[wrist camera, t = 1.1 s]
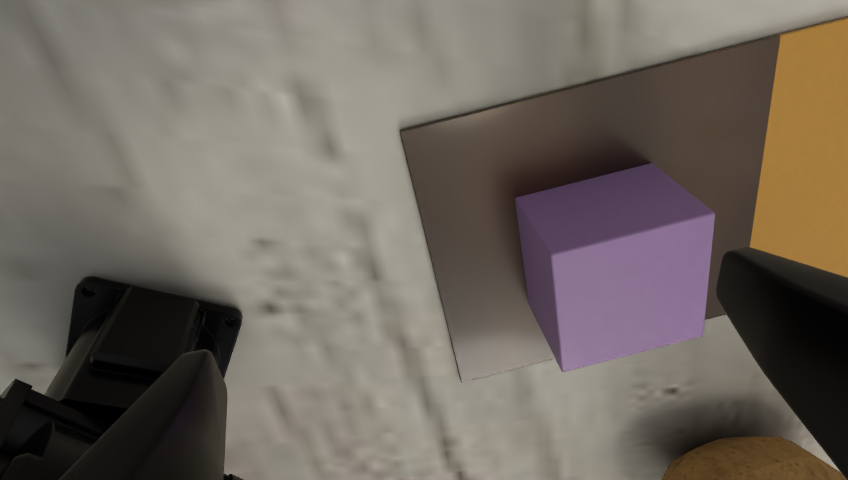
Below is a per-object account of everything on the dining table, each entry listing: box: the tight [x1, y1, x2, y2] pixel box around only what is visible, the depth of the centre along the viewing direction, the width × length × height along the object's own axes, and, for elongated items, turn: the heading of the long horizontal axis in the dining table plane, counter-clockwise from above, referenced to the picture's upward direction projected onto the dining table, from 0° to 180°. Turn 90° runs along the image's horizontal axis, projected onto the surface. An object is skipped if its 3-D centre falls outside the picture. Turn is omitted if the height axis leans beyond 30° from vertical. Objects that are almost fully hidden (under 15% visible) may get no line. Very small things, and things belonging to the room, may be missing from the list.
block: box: [515, 163, 715, 372], centre depth 22 cm, size 6×6×4 cm
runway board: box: [400, 35, 780, 383], centre depth 24 cm, size 15×14×1 cm
